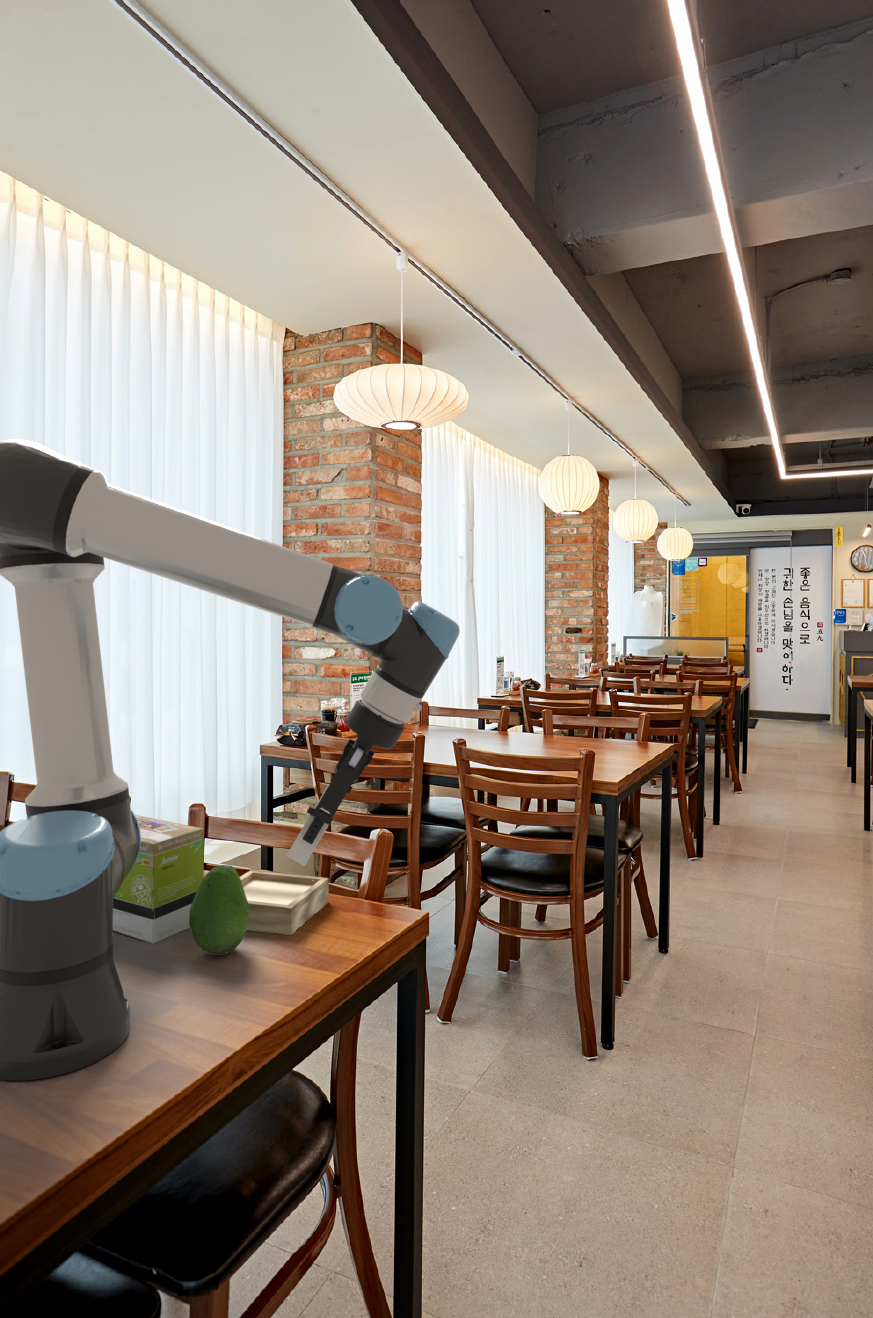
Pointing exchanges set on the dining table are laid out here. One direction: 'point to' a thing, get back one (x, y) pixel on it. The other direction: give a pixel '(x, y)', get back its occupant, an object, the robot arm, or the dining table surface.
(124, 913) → the tea box
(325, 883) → the wooden tray
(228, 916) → the avocado
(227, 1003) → the dining table surface
